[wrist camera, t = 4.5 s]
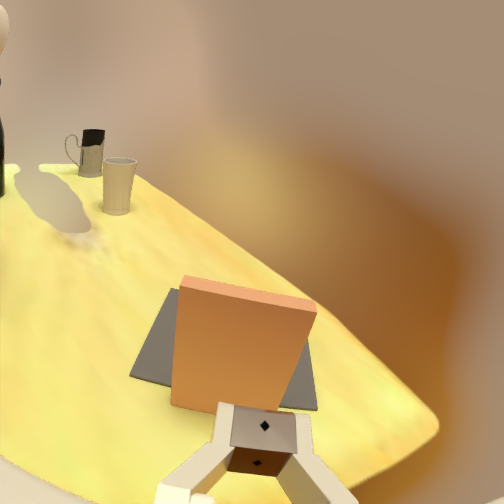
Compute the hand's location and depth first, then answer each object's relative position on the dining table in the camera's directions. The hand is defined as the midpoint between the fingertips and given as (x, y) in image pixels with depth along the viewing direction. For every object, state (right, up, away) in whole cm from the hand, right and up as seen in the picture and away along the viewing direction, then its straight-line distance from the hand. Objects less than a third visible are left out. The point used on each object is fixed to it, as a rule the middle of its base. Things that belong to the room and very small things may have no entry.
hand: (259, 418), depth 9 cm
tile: (-3, -10, +19) cm, 22 cm away
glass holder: (-56, +31, +83) cm, 105 cm away
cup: (-32, +15, +60) cm, 70 cm away
